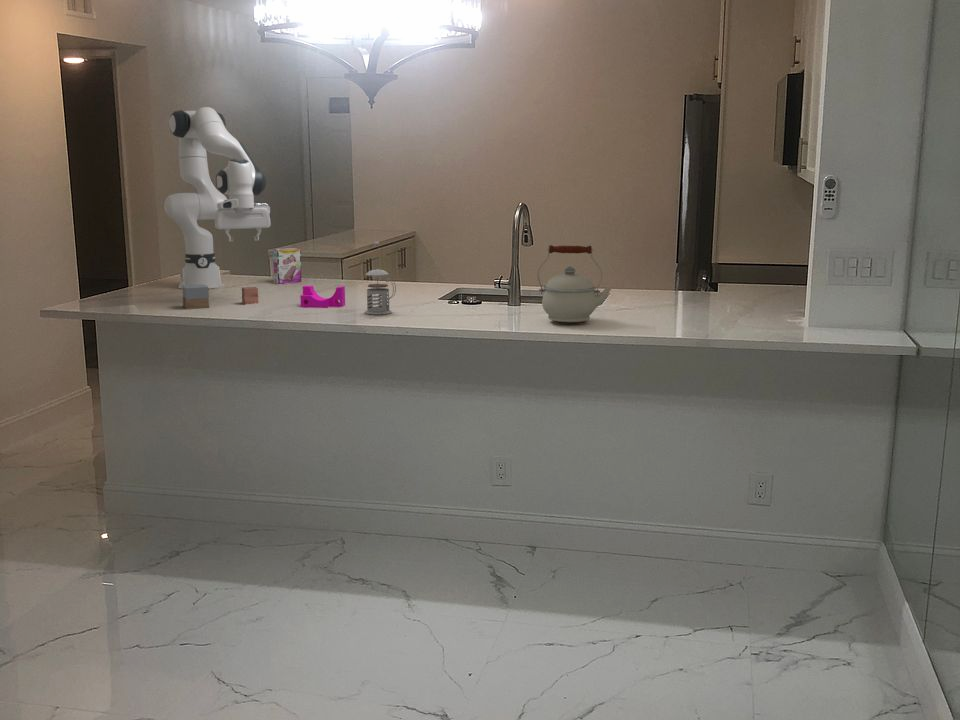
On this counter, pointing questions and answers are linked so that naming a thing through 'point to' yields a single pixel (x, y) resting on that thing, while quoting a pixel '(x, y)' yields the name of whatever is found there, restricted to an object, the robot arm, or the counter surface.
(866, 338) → the counter surface
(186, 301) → the tower base
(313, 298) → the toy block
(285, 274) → the candy bar box
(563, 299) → the kettle
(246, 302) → the reddish brown cube
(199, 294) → the tower middle
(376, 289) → the french press
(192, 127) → the robot arm
